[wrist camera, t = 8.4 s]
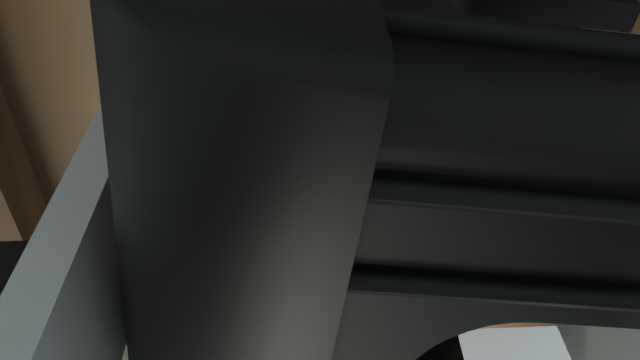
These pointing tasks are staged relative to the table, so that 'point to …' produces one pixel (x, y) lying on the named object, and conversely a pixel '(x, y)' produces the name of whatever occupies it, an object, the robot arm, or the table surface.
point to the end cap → (368, 172)
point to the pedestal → (52, 105)
